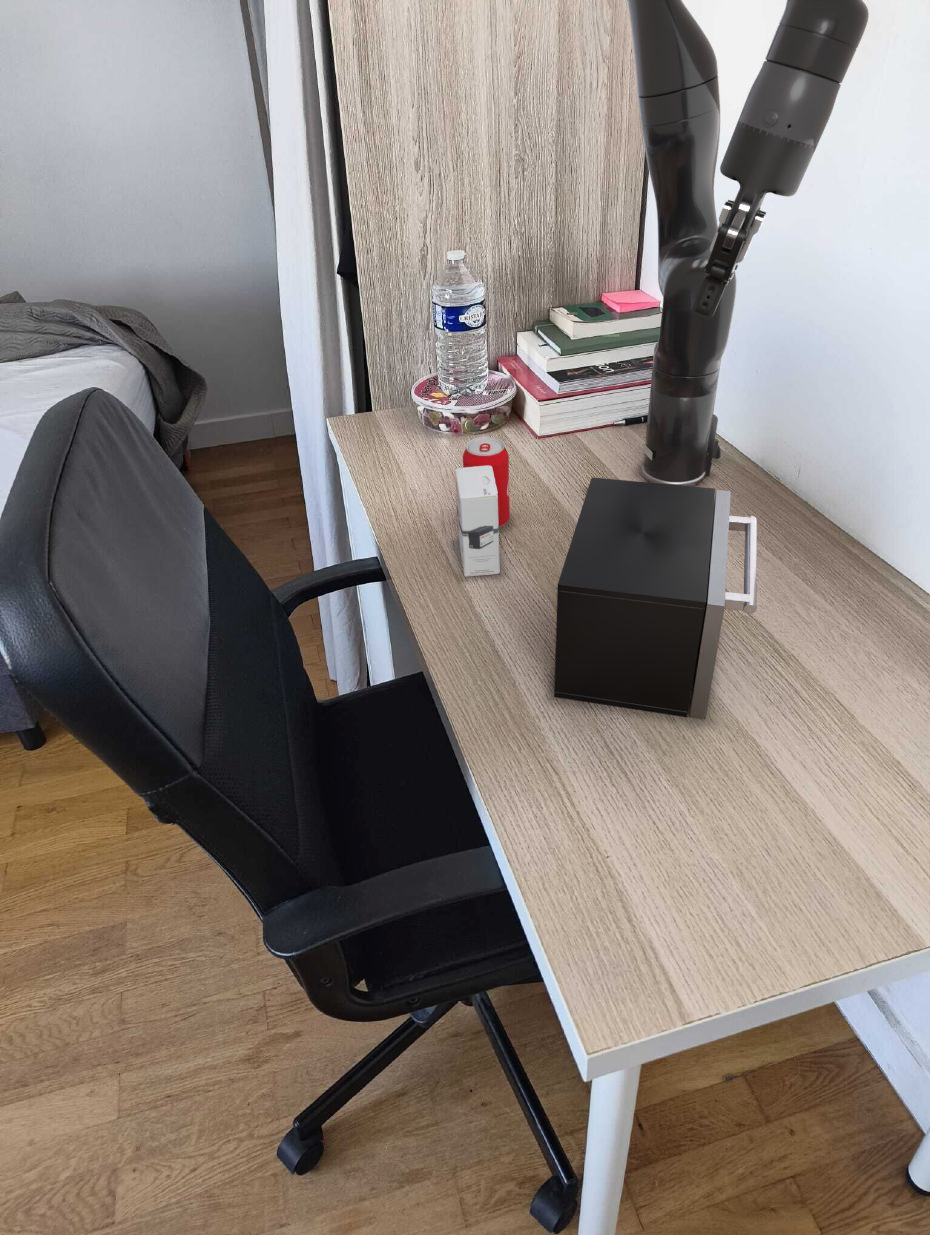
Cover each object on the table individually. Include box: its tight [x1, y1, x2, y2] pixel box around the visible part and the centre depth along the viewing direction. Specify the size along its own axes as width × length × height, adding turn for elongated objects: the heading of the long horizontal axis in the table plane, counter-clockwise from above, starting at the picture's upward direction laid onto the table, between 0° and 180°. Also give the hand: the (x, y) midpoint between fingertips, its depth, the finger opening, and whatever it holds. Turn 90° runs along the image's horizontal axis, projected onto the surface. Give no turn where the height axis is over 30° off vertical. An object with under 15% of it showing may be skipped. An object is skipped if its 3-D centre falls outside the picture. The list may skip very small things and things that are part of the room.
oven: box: [553, 476, 716, 718], centre depth 93 cm, size 14×22×15 cm, turn 165°
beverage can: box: [462, 436, 511, 529], centre depth 116 cm, size 6×6×12 cm
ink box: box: [454, 465, 501, 578], centre depth 109 cm, size 8×5×12 cm, turn 5°
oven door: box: [689, 489, 758, 720], centre depth 90 cm, size 5×22×15 cm, turn 165°
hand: (701, 316), depth 87 cm, fingers closed
